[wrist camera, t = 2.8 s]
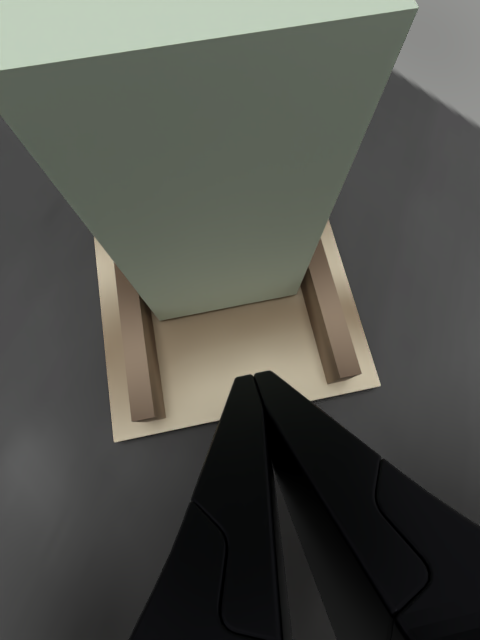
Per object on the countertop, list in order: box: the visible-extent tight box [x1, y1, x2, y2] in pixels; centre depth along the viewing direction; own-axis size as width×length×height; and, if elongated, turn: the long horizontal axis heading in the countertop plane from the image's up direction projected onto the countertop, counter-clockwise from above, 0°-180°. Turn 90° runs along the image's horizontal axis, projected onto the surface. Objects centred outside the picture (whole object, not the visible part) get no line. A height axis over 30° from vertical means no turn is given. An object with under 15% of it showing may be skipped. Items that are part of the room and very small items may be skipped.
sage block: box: [0, 0, 419, 321], centre depth 11 cm, size 5×6×11 cm
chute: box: [94, 220, 381, 442], centre depth 16 cm, size 20×11×3 cm, turn 12°
